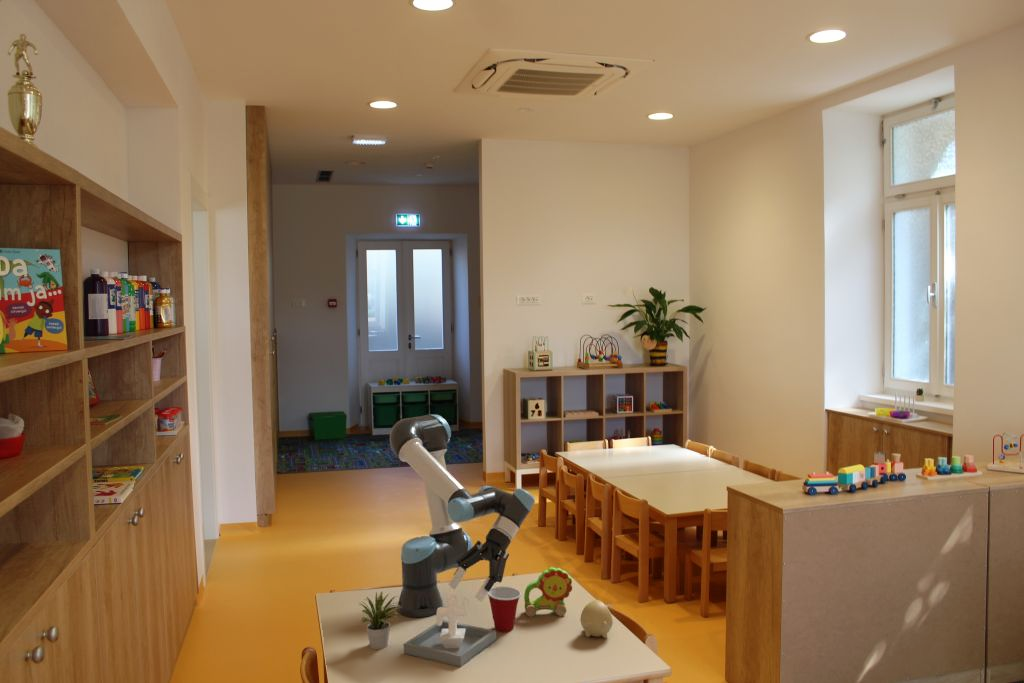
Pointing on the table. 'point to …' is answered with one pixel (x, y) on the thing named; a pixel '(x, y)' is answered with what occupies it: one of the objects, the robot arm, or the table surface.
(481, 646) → the tray
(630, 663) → the table surface
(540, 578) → the toy lion
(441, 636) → the figurine
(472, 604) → the table surface
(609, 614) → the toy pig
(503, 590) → the plastic cup
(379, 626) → the house plant
